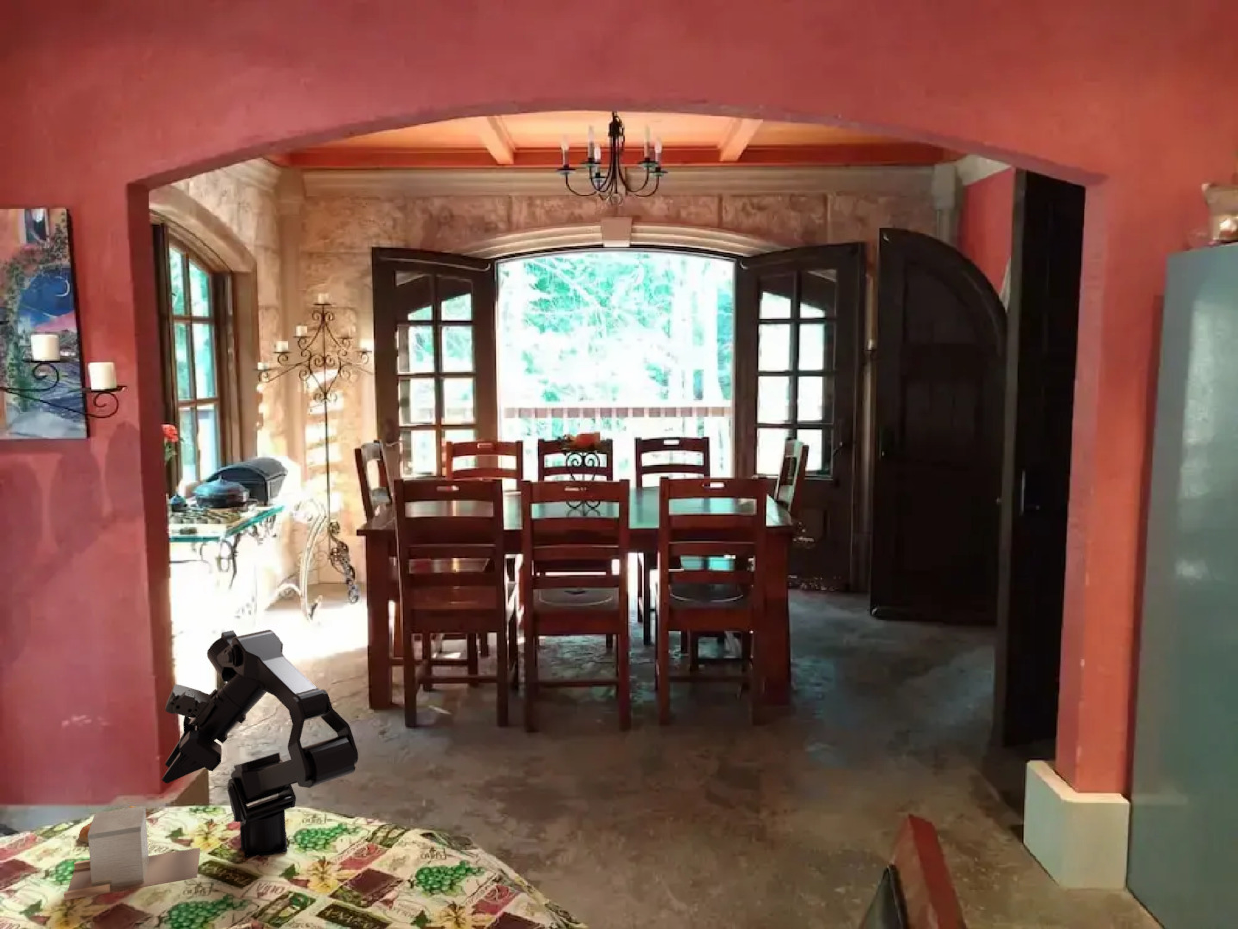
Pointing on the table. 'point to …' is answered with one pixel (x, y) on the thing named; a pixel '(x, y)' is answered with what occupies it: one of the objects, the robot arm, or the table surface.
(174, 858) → the board
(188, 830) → the table surface
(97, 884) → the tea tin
